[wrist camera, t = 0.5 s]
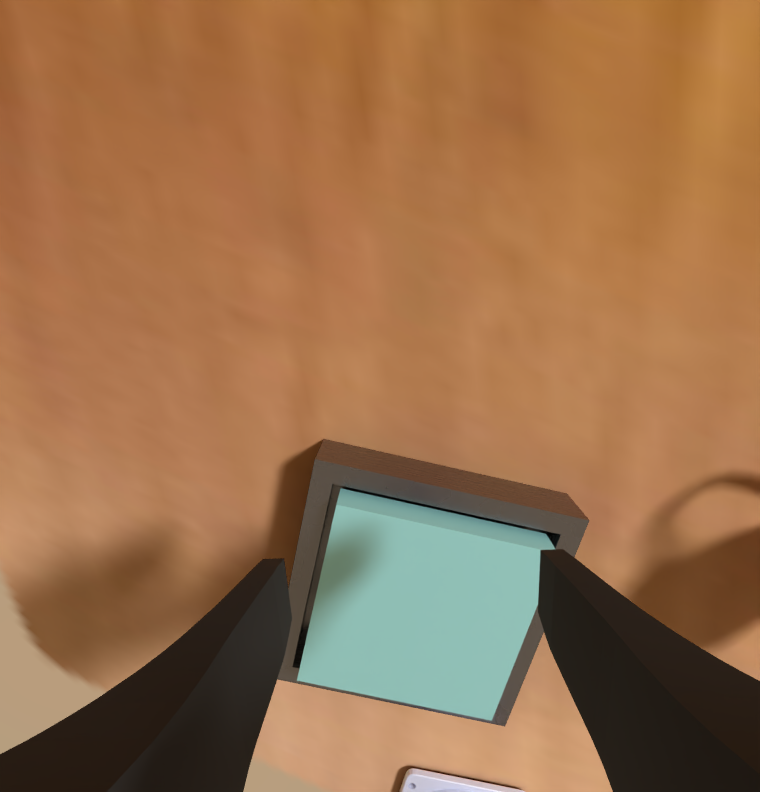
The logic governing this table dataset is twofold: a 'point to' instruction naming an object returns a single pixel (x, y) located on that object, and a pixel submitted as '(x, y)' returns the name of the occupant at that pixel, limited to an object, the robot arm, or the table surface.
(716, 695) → the robot arm
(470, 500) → the plate housing
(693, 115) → the table surface
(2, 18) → the table surface
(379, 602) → the plate
